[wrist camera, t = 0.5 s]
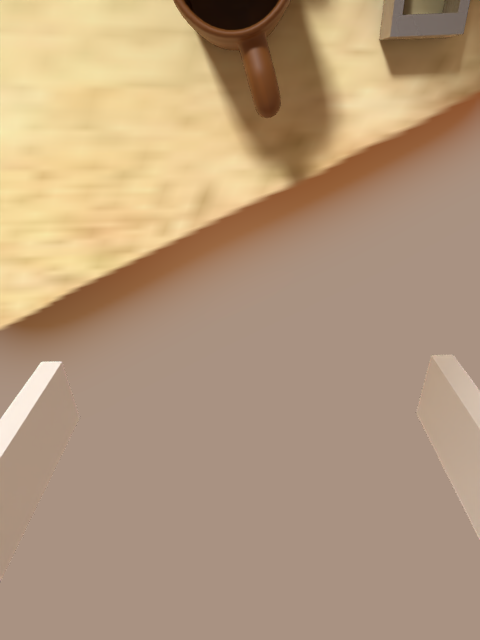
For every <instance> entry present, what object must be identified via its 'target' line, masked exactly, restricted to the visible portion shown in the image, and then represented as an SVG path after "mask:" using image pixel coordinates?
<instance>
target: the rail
mask: <svg viewBox="0 0 480 640" xmlns="http://www.w3.org/2000/svg"><path fill="white" fill-rule="evenodd" d="M469 4H470V0H445V4H444V9H443V13H438V14H413V15H402V14H403V7H404V0H384V5H383V13H382V22H381V30H380V39H379V40H396V39H422V38H447V37H452V36H457V35H461V34H463V33H464V28H465V23H466V18H467V13H468V8H469Z"/></svg>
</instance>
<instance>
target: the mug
mask: <svg viewBox="0 0 480 640" xmlns="http://www.w3.org/2000/svg"><path fill="white" fill-rule="evenodd" d="M173 1H174V3H175V5H176V7H177V8H178V10H179V11H180V13H181V14H182V16H183V17H184V18H185V20H186V21H187V22H188V23H189V24H190V25H191V26H192V27H193V28H194V29H195V30H196V31H197V32H198V33H199V34H200V35H201V36H202V37H203V38H205V39H206V40H207V41H209V42H210V43H212V44H214V45H216V46H218V47H221V48H223V49H229V50H239V51H240V54H241V58H242V61H243V65H244V69H245V72H246V76H247V80H248V83H249V87H250V91H251V94H252V98H253V102H254V105H255V109H256V111H257V113H258V114H259V115H260V116H261V117H265V118H270V117H272V116H274V115H276V113H277V112H278V111H279V109H280V105H281V101H280V93H279V88H278V83H277V79H276V75H275V71H274V67H273V63H272V59H271V55H270V51H269V48H268V44H267V40H266V37H267V36H268V35H269V34H270V33H271V32H272V31H273V30H274V28H275V27H276V25H277V24H278V22H279V21H280V19H281V18H282V16H283V14H284V12H285V10H286V9H287V7H288V5H289V3H290V1H291V0H173Z"/></svg>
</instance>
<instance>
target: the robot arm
mask: <svg viewBox="0 0 480 640" xmlns="http://www.w3.org/2000/svg"><path fill="white" fill-rule="evenodd" d="M416 414H417V416H418V418H419V420H420V422H421V424H422V426H423V428H424V430H425V432H426V434H427V436H428V438H429V440H430V442H431V444H432V446H433V448H434V450H435V452H436V454H437V456H438V458H439V460H440V462H441V464H442V466H443V468H444V470H445V472H446V474H447V476H448V477H449V480H450V482H451V484H452V486H453V488H454V490H455V492H456V494H457V496H458V498H459V500H460V502H461V504H462V506H463V508H464V510H465V512H466V514H467V516H468V518H469V520H470V522H471V524H472V526H473V528H474V530H475V532H476V534H477V536H478V538H479V540H480V390H479V389H478V388H477V387H476V385H475V384H474V382H473V381H472V380H471V378H470V377H469V376H468V374H467V373H466V372H465V370H464V369H463V367H462V366H461V365H460V363H459V362H458V361H457V359H456V358H455V357H454V355H431V358H430V362H429V366H428V369H427V373H426V377H425V381H424V385H423V388H422V392H421V396H420V400H419V404H418V408H417V412H416ZM79 419H80V416H79V413H78V410H77V406H76V403H75V400H74V397H73V394H72V391H71V388H70V384H69V381H68V378H67V375H66V372H65V369H64V366H63V363H62V362H41V363H40V365H39V366H38V367H37V369H36V370H35V371H34V373H33V374H32V376H31V377H30V378H29V380H28V381H27V383H26V384H25V385H24V387H23V388H22V390H21V391H20V392H19V394H18V395H17V397H16V398H15V399H14V401H13V402H12V404H11V405H10V406H9V408H8V409H7V411H6V412H5V414H4V415H3V416H2V418H1V419H0V582H1V580H2V578H3V576H4V574H5V571H6V569H7V567H8V565H9V563H10V561H11V559H12V557H13V555H14V553H15V551H16V549H17V547H18V545H19V542H20V540H21V538H22V536H23V534H24V532H25V530H26V528H27V526H28V524H29V522H30V520H31V518H32V516H33V514H34V511H35V510H36V508H37V505H38V503H39V501H40V499H41V497H42V495H43V493H44V491H45V489H46V487H47V484H48V483H49V481H50V479H51V476H52V475H53V472H54V470H55V468H56V466H57V464H58V462H59V460H60V458H61V456H62V454H63V452H64V450H65V448H66V446H67V444H68V442H69V439H70V437H71V435H72V433H73V431H74V429H75V427H76V425H77V423H78V421H79Z"/></svg>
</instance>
